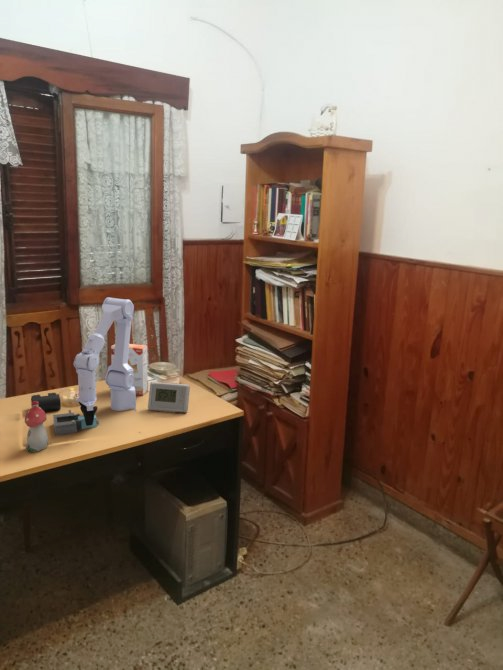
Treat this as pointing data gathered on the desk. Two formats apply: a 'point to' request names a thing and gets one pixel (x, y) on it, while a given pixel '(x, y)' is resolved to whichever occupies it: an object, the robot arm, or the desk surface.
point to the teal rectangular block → (85, 423)
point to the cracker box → (137, 366)
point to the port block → (66, 424)
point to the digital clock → (168, 397)
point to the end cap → (48, 402)
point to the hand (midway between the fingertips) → (88, 422)
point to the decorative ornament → (36, 428)
